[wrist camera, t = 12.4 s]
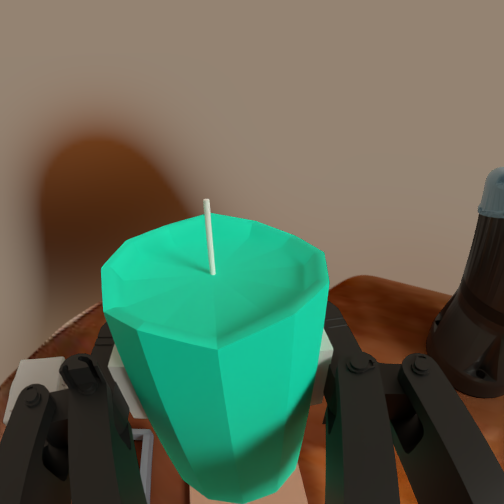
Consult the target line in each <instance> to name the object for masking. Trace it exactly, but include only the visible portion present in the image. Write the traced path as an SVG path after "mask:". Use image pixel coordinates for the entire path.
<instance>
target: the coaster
mask: <svg viewBox="0 0 504 504" xmlns="http://www.w3.org/2000/svg"><path fill="white" fill-rule="evenodd" d="M190 504H238V503H230V502H223V501H217V500H211V499H207V498H206V497H205V496H203V495H202V494H201V493H199V492H198V491H197V490H195V489H194V488H193V487H191V486H190ZM245 504H308V502H307V498H306V494H305V490H304V486H303V482H302V478H301V474H300V470H299V466H298V462H297V465H296V469H295V470H294V471H293V473H292V474H291V475H290V476H289V478H288V479H287V480H286V481H285V483H284V484H283V485H282V486H281V487H280V489H279V490H278V491H277V492H276V493H273V494H271V495H268V496H265V497H263V498H260V499H257V500H254V501H251V502H248V503H245Z"/></svg>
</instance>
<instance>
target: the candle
mask: <svg viewBox="0 0 504 504" xmlns="http://www.w3.org/2000/svg"><path fill="white" fill-rule="evenodd" d="M203 203H204V214H203V215H200V216H196V217H193V218H189V219H186V220H182V221H179V222H175V223H172V224H168V225H165V226H162V227H160V228H157V229H155V230H152V231H149V232H147V233H144V234H141V235H139V236H136V237H134V238H131V239H129V240H126V241H125V242H124V243H123V244H122V245H121V247H120V248H119V249H118V250H117V251H116V252H115V253H114V254H113V255H112V256H111V257H110V259H109V260H108V261H107V262H106V263H105V264H104V265H103V266H102V267H101V277H102V278H101V279H102V299H103V312H104V315H105V318H106V321H107V323H108V326H109V329H110V332H111V334H112V337H113V340H114V342H115V345H116V347H117V350H118V352H119V355H120V357H121V360H122V362H123V365H124V367H125V369H126V372H127V374H128V376H129V379H130V381H131V383H132V385H133V388H134V390H135V392H136V394H137V396H138V398H139V400H140V403H141V405H142V407H143V409H144V411H145V413H146V415H147V417H148V419H149V421H150V423H151V425H152V427H153V428H154V430H155V432H156V434H157V436H158V438H159V440H160V442H161V443H162V445H163V447H164V449H165V451H166V452H167V454H168V456H169V457H170V459H171V461H172V463H173V464H174V466H175V468H176V469H177V471H178V473H179V474H180V476H181V477H182V479H183V480H184V481H185V482H186V483H188V484H189V485H190V486H191V487H193V488H194V489H195V490H197V491H198V492H199V493H201V494H202V495H203V496H205V497H206V498H207V499H211V500H217V501H223V502H230V503H238V504H245V503H248V502H251V501H254V500H257V499H260V498H263V497H265V496H268V495H271V494H273V493H276V492H277V491H278V490H279V489H280V487H281V486H282V485H283V484H284V483H285V481H286V480H287V479H288V478H289V476H290V475H291V474H292V473H293V471H294V470H295V469H296V465H297V461H298V457H299V453H300V449H301V445H302V440H303V436H304V431H305V427H306V422H307V417H308V413H309V408H310V403H311V398H312V392H313V387H314V382H315V376H316V371H317V365H318V359H319V353H320V347H321V341H322V334H323V328H324V321H325V314H326V306H327V299H328V291H329V283H330V282H329V276H328V270H327V265H326V259H325V254H324V252H323V251H321V250H319V249H317V248H316V247H314V246H312V245H311V244H309V243H307V242H305V241H304V240H302V239H300V238H299V237H297V236H295V235H292V234H289V233H287V232H284V231H281V230H279V229H276V228H273V227H270V226H268V225H265V224H263V223H260V222H257V221H253V220H247V219H242V218H237V217H231V216H225V215H219V214H213V213H210V201H209V199H204V200H203Z"/></svg>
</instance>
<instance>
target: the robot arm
mask: <svg viewBox="0 0 504 504" xmlns="http://www.w3.org/2000/svg"><path fill="white" fill-rule="evenodd" d="M478 212H479V217H478V222H477V226H476V230H475V235H474V239H473V242H472V246H471V250H470V254H469V257H468V260H467V264H466V267H465V270H464V274H463V277H462V280H461V283H460V286H459V288H458V289H457V291H456V292H455V294H454V295H453V296H452V297H451V299H450V300H449V301H448V303H447V304H446V305H445V306H444V308H443V309H442V310H441V312H440V313H439V314H438V315H437V317H436V318H435V320H434V322H433V324H432V326H431V329H430V331H429V334H428V337H427V342H426V347H427V353H428V356H427V355H425V354H420V353H415V354H410V355H408V356H406V358H405V359H404V360H403V362H402V364H384V363H378V362H377V361H376V359H375V358H373V357H372V356H371V355H370V354H367V353H365V352H362V350H361V348H360V347H359V345H358V343H357V341H356V339H355V338H354V336H353V334H352V332H351V330H350V329H349V327H348V326H347V323H346V321H345V320H344V319H343V316H342V314H341V312H340V311H339V309H338V308H337V307H336V306H335V305H333V304H332V303H331V302H329V301H327V306H326V314H325V321H324V328H323V334H322V341H321V347H320V353H319V359H318V365H317V371H316V376H315V382H314V387H313V392H312V398H311V403H310V405H316V404H321V403H322V400H323V396H325V399H326V402H327V404H328V405H327V408H326V412H325V416H324V419H323V423H322V424H326V487H325V504H400V497H399V487H398V478H397V469H396V461H395V454H394V447H395V449H396V451H397V454H398V456H399V458H400V461H401V463H402V465H403V468H404V470H405V472H406V475H407V477H408V480H409V482H410V484H411V487H412V489H413V492H414V494H415V497H416V499H417V502H418V504H504V472H503V470H502V468H501V466H500V464H499V463H498V461H497V459H496V457H495V455H494V454H493V452H492V450H491V448H490V446H489V445H488V443H487V441H486V439H485V438H484V436H483V434H482V433H481V431H480V429H479V428H478V426H477V424H476V423H475V421H474V419H473V418H472V416H471V414H470V413H469V411H468V410H467V408H466V406H465V405H464V403H463V402H462V400H461V399H460V397H459V396H458V394H457V392H456V391H455V389H454V388H456V389H457V390H459V391H461V392H463V393H466V394H468V395H471V396H475V397H480V398H494V397H499V396H502V395H504V167H500V168H496V169H494V170H492V171H491V172H490V173H489V175H488V176H487V178H486V182H485V187H484V191H483V196H482V200H481V203H480V205H479V206H478ZM59 373H60V375H61V376H62V378H63V380H64V381H65V383H66V385H67V386H68V389H64V390H59V391H55V392H49V391H48V389H47V388H46V387H45V386H44V385H41V384H31V385H29V386H27V387H25V388H24V389H23V390H22V391H21V392H20V394H19V396H18V398H17V400H16V403H15V405H14V408H13V410H12V413H11V415H10V418H9V421H8V423H7V426H6V429H5V431H4V434H3V437H2V440H1V443H0V504H71V499H72V504H147V501H146V497H145V493H144V488H143V484H142V480H141V475H140V471H139V466H138V461H137V456H136V451H135V445H134V440H133V434H132V428H131V425H130V423H129V421H128V415H129V410H130V412H131V414H132V415H133V417H134V418H148V417H147V415H146V413H145V411H144V409H143V407H142V405H141V403H140V400H139V398H138V396H137V394H136V392H135V390H134V388H133V385H132V383H131V381H130V379H129V376H128V374H127V372H126V369H125V367H124V365H123V362H122V360H121V357H120V355H119V352H118V350H117V347H116V345H115V342H114V340H113V337H112V334H111V332H110V329H109V326H108V323H107V322H106V323H105V324H104V325H103V326H102V327H101V329H100V332H99V334H98V339H97V340H96V342H95V346H94V348H93V350H92V353H91V355H88V354H76V355H73V356H71V357H69V358H67V359H66V360H65V361H64V362H63V363H62V364H61V366H60V369H59ZM453 387H454V388H453ZM393 444H394V447H393Z"/></svg>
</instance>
